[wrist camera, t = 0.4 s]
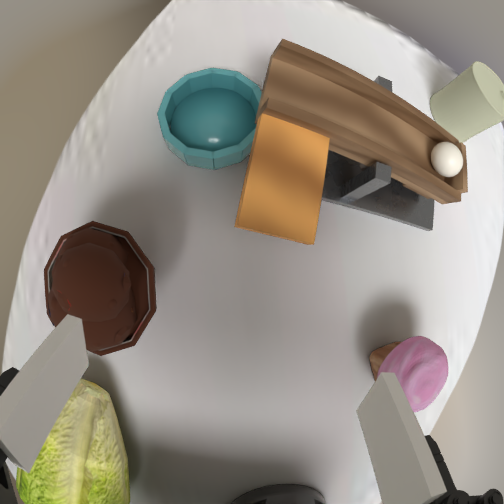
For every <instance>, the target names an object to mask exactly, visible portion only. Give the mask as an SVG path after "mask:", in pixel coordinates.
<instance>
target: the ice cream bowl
mask: <svg viewBox="0 0 504 504" xmlns="http://www.w3.org/2000/svg"><path fill="white" fill-rule="evenodd" d="M44 281H45V297H46V308H47V315H48V317H49V318H50V320H51V322H52V324H53V326H54V325H55V327H57V325H58V324H59V323H60V322H61V321H62V320H63V319H64V318H65V317H66V315H67V314H69V315H71V316H74V317H77V318H80V319H82V324H83V331H84V338H85V344H86V350H88V351H90V352H93V353H95V354H97V355H100V356H102V355H106V354H109V353H112V352H116V351H119V350H122V349H125V348H129V347H132V346H135V344H136V343H137V341H138V339H139V338H140V336H141V334H142V333H143V331H144V330H145V328H146V326H147V325H148V323H149V321H150V320H151V318H152V317H153V315H154V313H155V312H156V308H157V307H156V291H155V271H154V267H153V265H152V264H151V263H150V261H149V260H148V258H147V257H146V256H145V254H144V253H143V251H142V250H141V249H140V247H139V246H138V244H137V243H136V242H135V240H134V239H133V237H132V236H131V235H130V233H129V232H127V231H124V230H121V229H117V228H114V227H111V226H107V225H104V224H101V223H97V222H94V221H92V222H89V223H87V224H85V225H83V226H81V227H79V228H77V229H75V230H73V231H71V232H68V233H66V234H64V235H62V236H61V237H60V239H59V241H58V243H57V245H56V246H55V248H54V250H53V252H52V254H51V256H50V258H49V260H48V262H47V264H46V266H45V268H44Z"/></svg>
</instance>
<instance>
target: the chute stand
mask: <svg viewBox="0 0 504 504" xmlns="http://www.w3.org/2000/svg"><path fill="white" fill-rule="evenodd" d="M374 82H376V83H377V84H379V85H381V86H382V87H384V88H386V89H387V90H389V91H391V92H392V81H390V80H387V79H385V78H383V77H380V76H378V77H377V78H376V80H375V81H374ZM391 168H392V167H390V166H388V165H385V164H382V163H379V162H375V163H374V164H372V165H371V166H369V167H368V168H367V169H365V170H364V171H362V170H360V163H359V162H357V161H355V160H353V159H350V158H348V157H345V156H343V155H341V154H338V153H336V152H333V151H331V150H329V149H328V156H327V164H326V171H325V178H324V185H323V192H322V198H321V200H324V201H328V202H332V203H335V204H339V205H343V206H347V207H350V208H354V209H357V210H361V211H364V212H368V213H371V214H375V215H378V216H382V217H385V218H388V219H392V220H395V221H398V222H402V223H405V224H408V225H411V226H414V227H417V228H420V229H424V230H427V231H430V230H432V228H433V215H434V199H432V198H430V199H427V198H425V197H423V196H422V195H420V194H418V193H416V192H414V191H412V190H410V189H408V188H406V187H404V186H403V183H402V182H400V181H398V180H396V179H394V178H392V177H391Z"/></svg>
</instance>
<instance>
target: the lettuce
mask: <svg viewBox="0 0 504 504" xmlns="http://www.w3.org/2000/svg"><path fill="white" fill-rule="evenodd" d="M16 487H17V490H18V493H19V495H20V498H21V499H22V500H23V502H24V503H25V504H129V503H130V484H129V470H128V458H127V454H126V450H125V446H124V442H123V438H122V434H121V430H120V427H119V423H118V419H117V416H116V413H115V410H114V407H113V404H112V401H111V398H110V395H109V393H108V392H107V391H106V390H104V389H103V388H101V387H100V386H98V385H97V384H95V383H93V382H90V381H87V380H84V379H80V381H79V382H78V384H77V386H76V387H75V389H74V391H73V392H72V394H71V396H70V397H69V399H68V401H67V403H66V404H65V406H64V408H63V410H62V411H61V413H60V415H59V417H58V418H57V420H56V422H55V424H54V426H53V428H52V429H51V431H50V433H49V435H48V437H47V439H46V441H45V443H44V445H43V446H42V448H41V450H40V452H39V454H38V456H37V458H36V460H35V462H34V464H33V466H32V468H31V471H30V473H27V472H26V471H24V470H22V469H21V468H19V467H17V478H16Z"/></svg>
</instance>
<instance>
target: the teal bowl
mask: <svg viewBox="0 0 504 504" xmlns="http://www.w3.org/2000/svg"><path fill="white" fill-rule="evenodd" d="M261 94H262V93H261V90H260V88H259V86H258V85H257V84H255V83H254V82H252V81H251V80H249V79H248V78H247V77H245V76H244V75H242V74H241V73H239V72H237V71H231V70H224V69H217V68H209V69H205V70H201V71H197V72H194V73H190V74H187V75H185V76H184V77H182V78H181V79H180V80H179V81H178V82H176V83H175V84H174V85H173V86H172V87H170V88H169V89H168V90H167V91H166V92H165V95H164V97H163V100H162V103H161V105H160V108H159V111H158V113H157V115H158V119H159V123H160V127H161V131H162V134H163V138H164V140H165V142H166V144H167V146H168V148H169V150H171V151H172V152H173V153H174V154H175V155H176V156H178V157H179V158H180V159H181V160H182V161H184V162H185V163H186V164H187V165H190V166H195V167H201V168H206V169H212V170H214V169H215V170H216V169H219V168H223V167H226V166H229V165H233V164H236V163H239V162H242V161H243V160H244V159H245V158H246V157H247V156H248V155H249V154H250V152H251V148H252V143H253V139H254V135H255V130H256V126H257V124H255V119H256V115H257V111H258V107H259V102H260V98H261ZM170 125H171V129H170Z"/></svg>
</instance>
